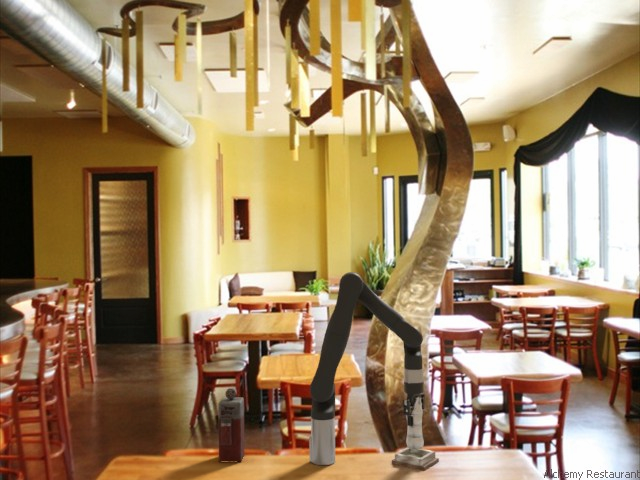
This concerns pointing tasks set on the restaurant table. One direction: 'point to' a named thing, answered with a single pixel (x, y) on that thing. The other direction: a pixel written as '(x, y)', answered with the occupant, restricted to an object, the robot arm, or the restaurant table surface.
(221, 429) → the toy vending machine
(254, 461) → the restaurant table surface
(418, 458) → the socket board
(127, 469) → the restaurant table surface
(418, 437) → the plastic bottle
